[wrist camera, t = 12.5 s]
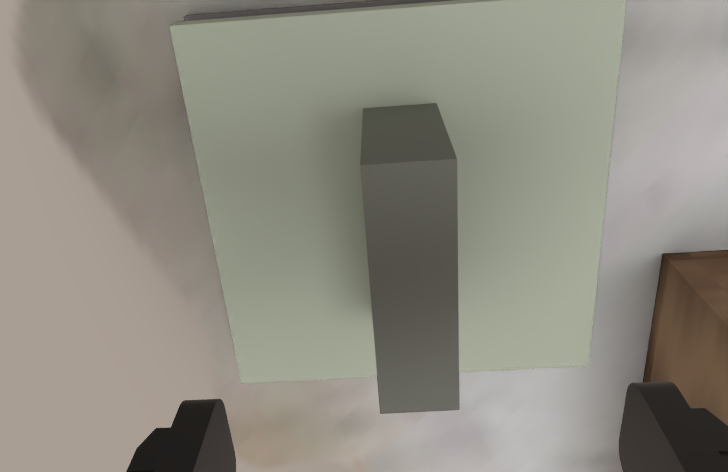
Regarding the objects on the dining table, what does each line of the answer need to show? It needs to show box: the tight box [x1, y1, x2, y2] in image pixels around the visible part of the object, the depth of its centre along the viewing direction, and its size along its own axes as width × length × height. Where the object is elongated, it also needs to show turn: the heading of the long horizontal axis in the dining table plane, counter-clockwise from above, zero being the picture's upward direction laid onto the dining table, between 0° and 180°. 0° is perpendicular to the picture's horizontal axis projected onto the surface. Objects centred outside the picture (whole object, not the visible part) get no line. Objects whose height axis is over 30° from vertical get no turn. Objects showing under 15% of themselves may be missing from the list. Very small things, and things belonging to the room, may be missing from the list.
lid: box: [169, 0, 627, 414], centre depth 21 cm, size 14×14×8 cm
